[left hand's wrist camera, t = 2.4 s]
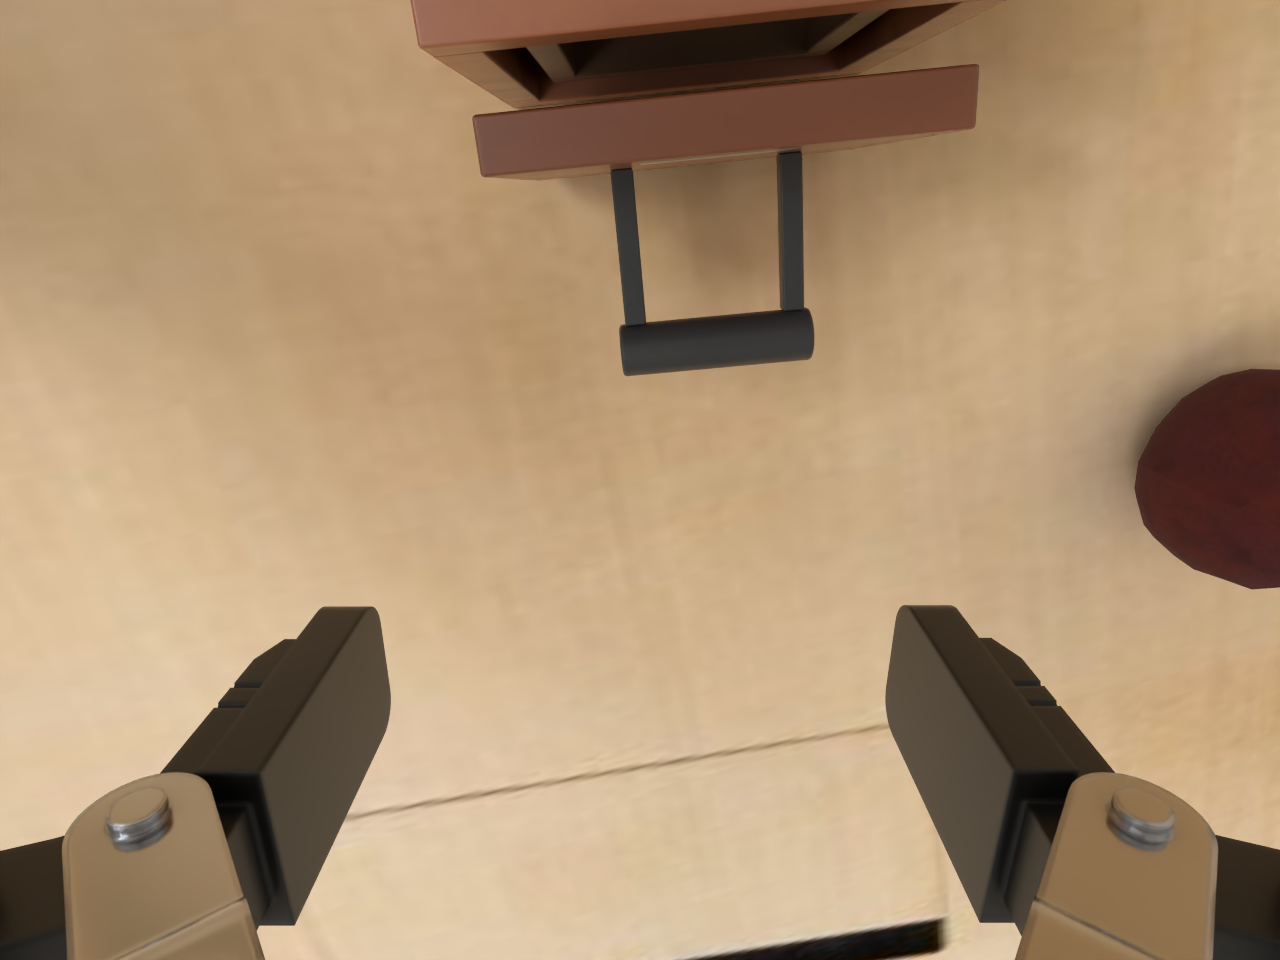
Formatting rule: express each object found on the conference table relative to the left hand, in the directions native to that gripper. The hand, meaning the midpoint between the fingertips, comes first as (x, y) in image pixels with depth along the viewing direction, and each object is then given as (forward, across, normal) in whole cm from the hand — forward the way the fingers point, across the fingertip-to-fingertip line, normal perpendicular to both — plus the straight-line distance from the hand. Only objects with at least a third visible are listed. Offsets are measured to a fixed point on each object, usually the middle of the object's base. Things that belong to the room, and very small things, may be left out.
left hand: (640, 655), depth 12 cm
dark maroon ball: (+18, +22, -2) cm, 28 cm away
